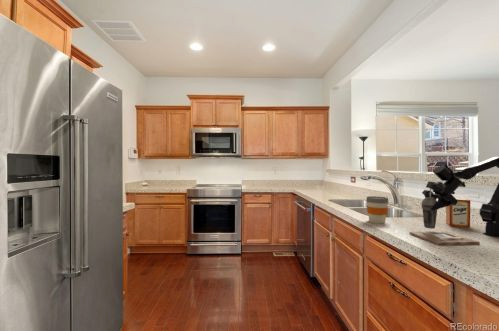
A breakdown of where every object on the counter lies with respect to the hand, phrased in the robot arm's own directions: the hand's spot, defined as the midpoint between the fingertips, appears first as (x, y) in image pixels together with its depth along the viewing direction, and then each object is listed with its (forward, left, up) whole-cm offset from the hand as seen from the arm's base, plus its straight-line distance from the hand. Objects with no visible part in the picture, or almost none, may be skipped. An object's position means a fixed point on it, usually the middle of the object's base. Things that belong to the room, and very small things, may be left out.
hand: (426, 208), depth 131 cm
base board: (-2, +8, -13) cm, 15 cm away
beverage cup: (-1, 0, -10) cm, 10 cm away
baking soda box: (-34, -17, -13) cm, 40 cm away
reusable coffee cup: (+8, -30, -13) cm, 34 cm away
